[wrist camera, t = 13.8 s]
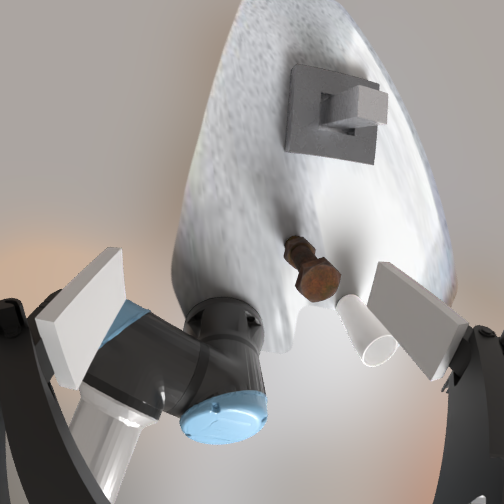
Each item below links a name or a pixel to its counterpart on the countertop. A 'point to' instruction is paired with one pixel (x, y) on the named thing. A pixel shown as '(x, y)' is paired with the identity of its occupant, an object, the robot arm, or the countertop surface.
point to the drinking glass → (365, 331)
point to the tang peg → (354, 109)
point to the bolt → (311, 270)
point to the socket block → (308, 112)
